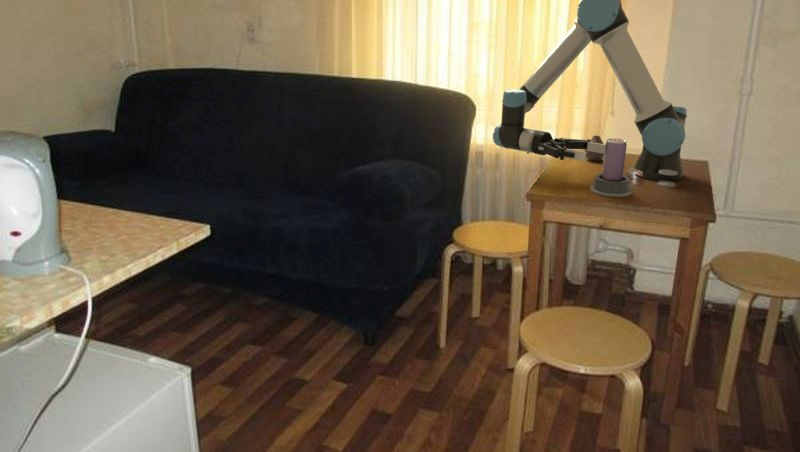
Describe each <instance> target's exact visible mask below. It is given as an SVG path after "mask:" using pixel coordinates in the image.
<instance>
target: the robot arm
mask: <svg viewBox="0 0 800 452" xmlns="http://www.w3.org/2000/svg"><path fill="white" fill-rule="evenodd" d="M576 12H577V13H576V16H577V17H575V19H574V25H573V26H572V27H571V29H569V30H568V32H567V33H566V35H564V37H563V38H562V39H561V40H560V41H559V43H558V44H557V45H556V46H555V47H554V48H553V50H552V51H551V52H550V53H549V54H548V55H547V57H545V58H544V60H543V61H542V62H541V63H540V64H539V66H538V67H537V68H536V69H535V71H534V72H533V73H532V74H531V75H530V76H529V77H528V79H527V80H526V81H525V82H524V84H522V86H520V88H518V89H514V88H513V89H506V90H504V92H503V96H502V107H501V109H502V111H501V112H502V113H501V123H500V124H498V125H496V126H495V128H494V131H493V132H492V133H493V134H492V140H493V143H494V145H496V146H498V147H501V148H504V149H508V150H509V149H510V150H515V151H519V152H526V154H530V153H531V154H536V155H541V156H546V155H548V156H550V157H553V158H554V159H555V158H556V159H559V160H561V161H564V160H565V159H570V160H575V161H579V162H587V161H586V160H587V157H586V153H587V152H585V151H582V150H585V149H586V150H587V151H592V152H598V153H603V154H604V153H605V145H606V144H605V143H604V144H599V143H593V142H591V141H590V140H591V138H590V139H589V138H587V139H577V138H576V139H575V138H566V137H565V138H564V137H560V138H553V136H552V134H551V133H550V132H548V131H543V130H542V131H541V130H538V129H533V128H525V118H526V114H527V113H529V112H530V111H532V109H533V108H534V107H535V105H536V104H537V102H539V101H540V99H541V98H542V97H543V96H544V95H545V94H546V92H547V91H548V90H549V89H550V88H551V87H552V86H553V85H554V83H555V82H556V81H557V80H558V79H559V78H560V77H561V75H562V74H563V73H565V71H566V70H567V69H568V68H569V67H570V65H571V64H572V63H573V62H574V61H575V59H577V57H578V56H580V55H581V53H582V52H583V51H584V50H585V49H586V47H587V46H588V45H589V44H590V43H591V42H592V43H593V44H595V45H599V46H600V48H601V49H602V52H603V53H604V55H605V57H606V59H607V61H608V63H609V65H610V67H611V68H612V71H613V72H614V74H615V76H616V78H617V80H618V82H619V84H620V86H621V88H622V90H623V91H624V94H625V95H626V97H627V99H628V101H629V103H630V105H631V107H632V109H633V110H634V113H635V118H634V119H633V120H634V124H635V126H636V128H637V130H638V132H639V134H640V136H641V141H642V144H643V146H642V149H641V150H642V151H641V153H640V155H639V157H638V159H637V161H636V163H635V165H634V169H636V170H640V171H642V172H643V178H642V179H647V180H653V181H660V180H662V181H670V182H673V181H678V180H681V179H682V178H683V175H684V174H683V173H684V168H683V166H682V160H681V159H682V158H681V148H682V145H683V144H684V141H685V138H686V131H685V127H686V126H685V125H686V119H687V117H688V114H687V113H688V112H687V107H683V106H673V104H672V102H669V101H667V100H664V98H663V97H662V95H661V93H660V91H659V89H658V86H657V85H656V83H655V81H654V79H653V77H652V76H651V74H650V71H649V69H648V68H647V66H646V64H645V62H644V60H643V58H642V56H641V54H640V53H639V50H638V48H637V46H636V45H635V42H634V41H633V39H632V37H631V35H630V33H629V31H628V27H629V25H630V24H629V23H630V21H629V19H628V17H627V14H626V13H625V10H624V9H623V4H622V0H580V1H579V3H578V5H577V11H576ZM634 169H633V170H634ZM663 169H666V170H674V171H677V172H678V174H677V175H673V176H671V175H663V174H660V173H659V170H663Z"/></svg>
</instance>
